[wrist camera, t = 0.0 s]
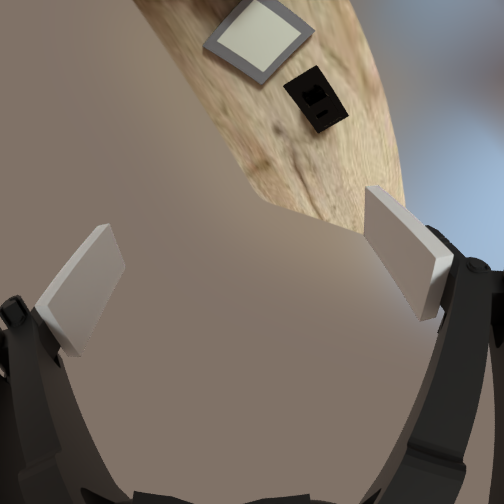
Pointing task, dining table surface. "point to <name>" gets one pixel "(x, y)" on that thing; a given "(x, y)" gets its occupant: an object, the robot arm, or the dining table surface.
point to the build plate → (316, 99)
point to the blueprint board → (258, 37)
